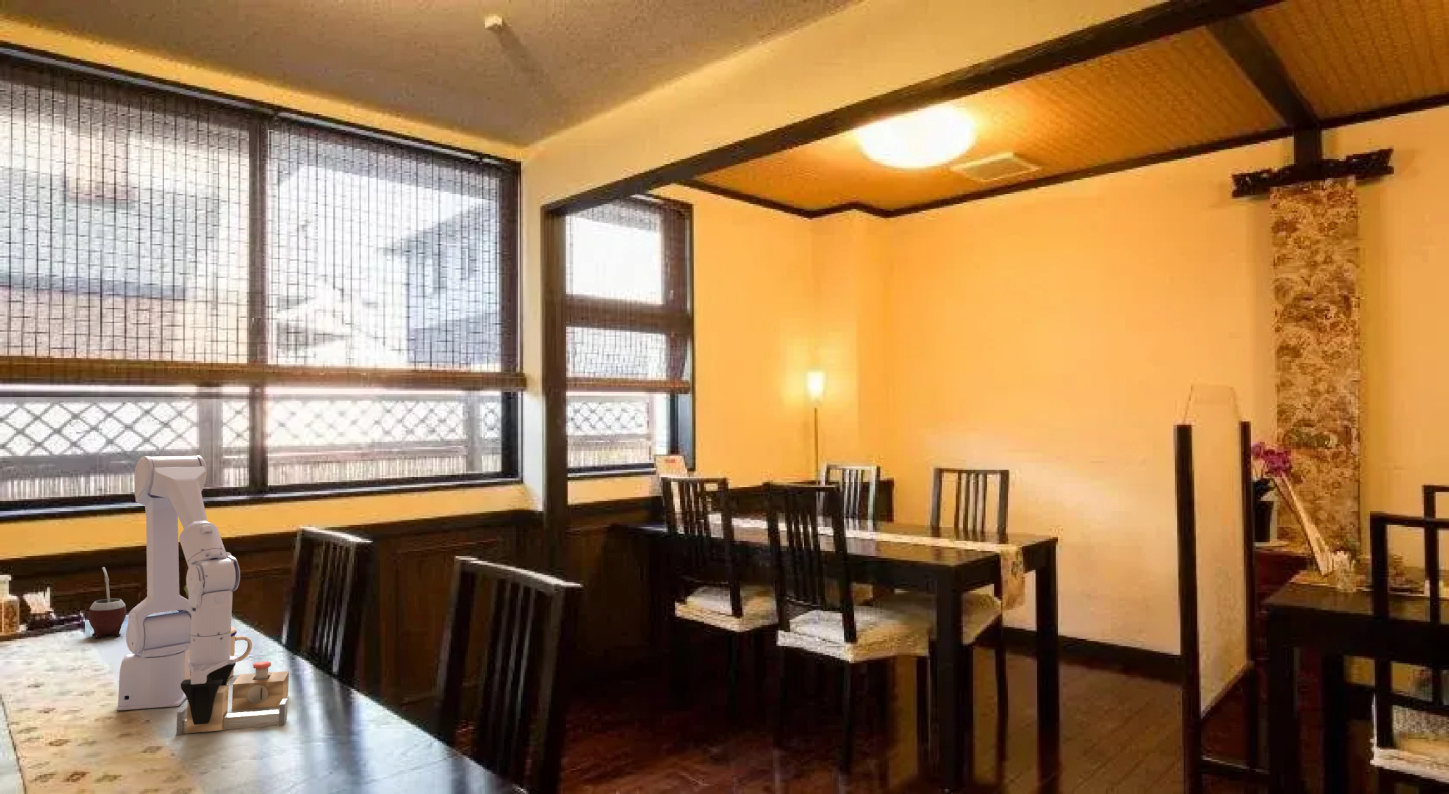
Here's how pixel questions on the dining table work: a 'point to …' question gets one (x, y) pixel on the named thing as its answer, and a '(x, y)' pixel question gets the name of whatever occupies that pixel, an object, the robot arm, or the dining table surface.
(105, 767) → the dining table surface
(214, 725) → the block
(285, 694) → the wooden box with dial
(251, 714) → the rail
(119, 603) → the mate gourd
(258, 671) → the plunger
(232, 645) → the teacup with lid
